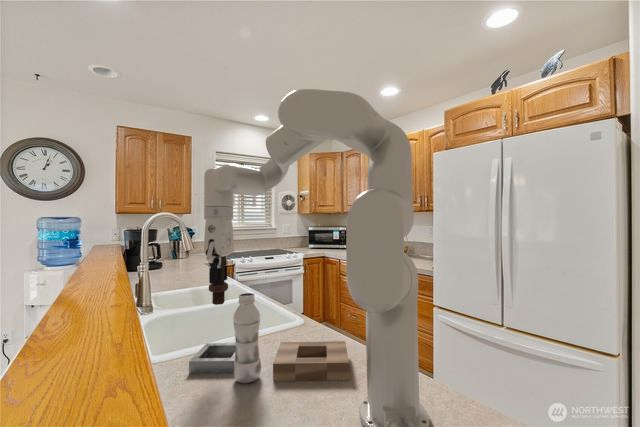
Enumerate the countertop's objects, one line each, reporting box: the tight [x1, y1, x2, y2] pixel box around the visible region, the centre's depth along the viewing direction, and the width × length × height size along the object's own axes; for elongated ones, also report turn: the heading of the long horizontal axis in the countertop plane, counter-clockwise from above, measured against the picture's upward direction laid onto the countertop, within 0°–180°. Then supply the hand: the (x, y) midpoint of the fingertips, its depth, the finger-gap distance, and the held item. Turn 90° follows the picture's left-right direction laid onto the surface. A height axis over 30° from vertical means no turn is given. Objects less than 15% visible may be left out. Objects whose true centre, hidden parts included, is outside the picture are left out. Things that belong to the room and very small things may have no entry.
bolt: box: [208, 254, 229, 306], centre depth 76 cm, size 6×5×15 cm
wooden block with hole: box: [272, 340, 351, 382], centre depth 72 cm, size 12×18×4 cm, turn 89°
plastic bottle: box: [232, 292, 262, 384], centre depth 67 cm, size 6×7×20 cm
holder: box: [188, 342, 236, 375], centre depth 75 cm, size 10×12×3 cm
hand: (218, 280), depth 76 cm, fingers closed on bolt, 3 cm apart
